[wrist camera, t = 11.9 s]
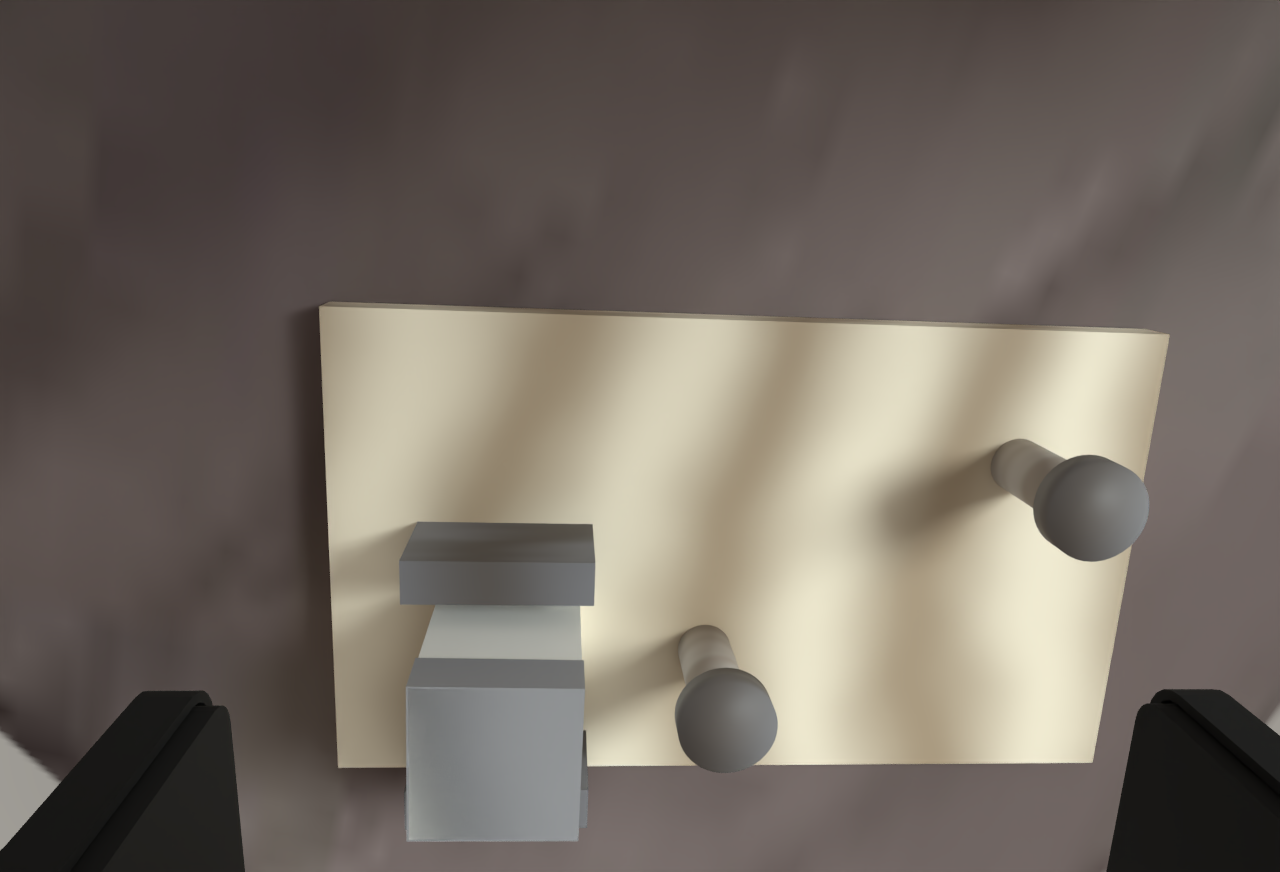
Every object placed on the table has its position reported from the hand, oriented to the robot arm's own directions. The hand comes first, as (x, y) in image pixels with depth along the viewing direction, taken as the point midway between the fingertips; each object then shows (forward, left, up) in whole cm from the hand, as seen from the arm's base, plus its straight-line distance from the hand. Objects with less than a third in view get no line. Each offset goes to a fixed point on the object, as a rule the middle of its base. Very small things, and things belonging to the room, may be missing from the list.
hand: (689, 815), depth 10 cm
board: (-4, +4, -19) cm, 19 cm away
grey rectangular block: (+3, +7, -17) cm, 19 cm away
